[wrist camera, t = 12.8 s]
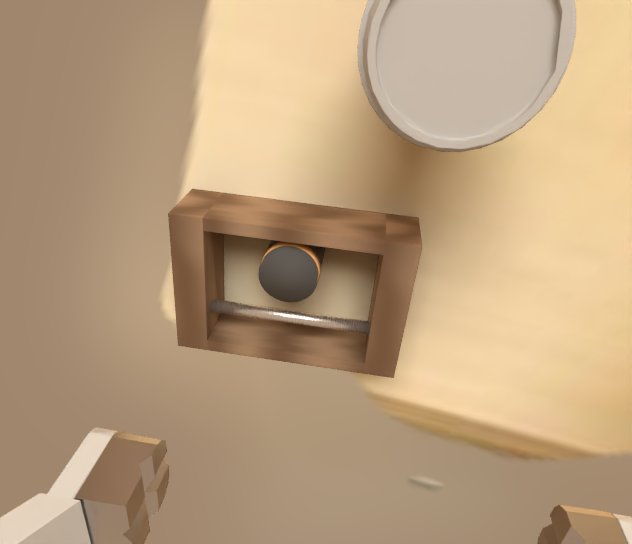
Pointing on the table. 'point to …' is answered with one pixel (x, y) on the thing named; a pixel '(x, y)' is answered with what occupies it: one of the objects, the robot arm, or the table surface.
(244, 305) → the metal rod
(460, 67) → the disposable coffee cup
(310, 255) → the orange-banded dark cylinder
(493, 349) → the table surface
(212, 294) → the brown wooden frame
